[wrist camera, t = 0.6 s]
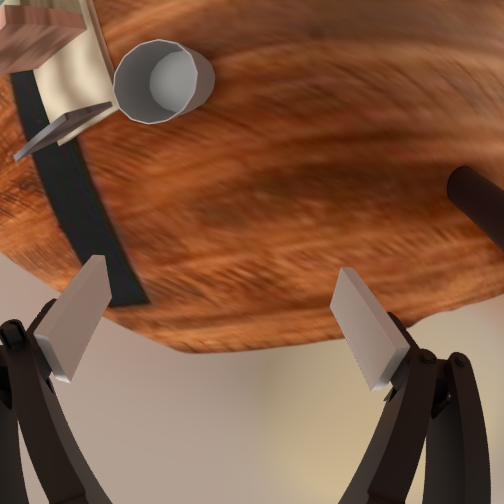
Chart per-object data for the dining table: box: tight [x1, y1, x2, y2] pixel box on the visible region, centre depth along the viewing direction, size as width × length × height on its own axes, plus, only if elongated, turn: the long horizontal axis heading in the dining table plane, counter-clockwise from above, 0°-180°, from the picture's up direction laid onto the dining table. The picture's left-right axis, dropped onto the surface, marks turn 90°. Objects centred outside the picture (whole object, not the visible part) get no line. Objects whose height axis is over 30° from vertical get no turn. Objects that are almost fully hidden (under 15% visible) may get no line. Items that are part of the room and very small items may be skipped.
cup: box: [113, 39, 216, 124], centre depth 24 cm, size 8×8×10 cm
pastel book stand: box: [0, 0, 120, 161], centre depth 17 cm, size 12×24×17 cm, turn 17°
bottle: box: [448, 167, 504, 252], centre depth 25 cm, size 7×7×20 cm
